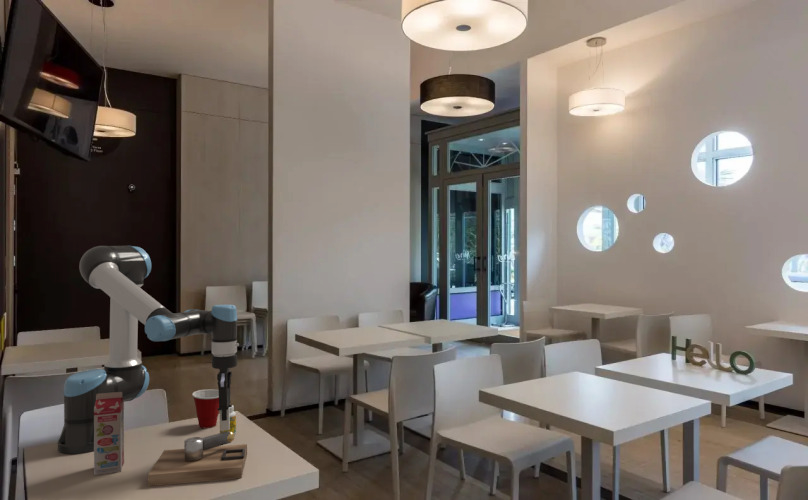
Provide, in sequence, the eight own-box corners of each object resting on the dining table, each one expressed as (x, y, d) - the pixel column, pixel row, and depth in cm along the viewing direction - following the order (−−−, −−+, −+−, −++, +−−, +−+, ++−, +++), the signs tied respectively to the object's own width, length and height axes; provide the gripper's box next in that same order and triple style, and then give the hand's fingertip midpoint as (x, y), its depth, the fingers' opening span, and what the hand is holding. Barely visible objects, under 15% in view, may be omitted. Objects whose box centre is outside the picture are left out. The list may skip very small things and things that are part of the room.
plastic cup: (213, 431, 185) (213, 397, 185) (185, 429, 187) (185, 395, 187) (229, 421, 195) (229, 389, 195) (203, 420, 197) (203, 387, 197)
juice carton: (98, 466, 155) (98, 391, 155) (124, 463, 157) (123, 388, 157) (94, 475, 149) (93, 396, 149) (120, 471, 151) (120, 394, 151)
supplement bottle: (231, 430, 186) (231, 403, 186) (238, 434, 182) (238, 406, 182) (216, 434, 182) (216, 406, 182) (223, 438, 178) (223, 409, 178)
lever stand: (164, 460, 159) (164, 447, 159) (247, 453, 164) (247, 441, 164) (148, 486, 142) (148, 471, 142) (241, 477, 147) (241, 464, 147)
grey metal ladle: (189, 462, 149) (189, 444, 149) (181, 457, 153) (181, 440, 153) (238, 447, 160) (238, 431, 160) (229, 443, 164) (229, 427, 164)
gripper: (234, 357, 160) (235, 435, 160) (239, 350, 173) (239, 422, 173) (208, 358, 159) (208, 437, 159) (214, 350, 172) (215, 423, 172)
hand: (224, 429), depth 166 cm, fingers closed
